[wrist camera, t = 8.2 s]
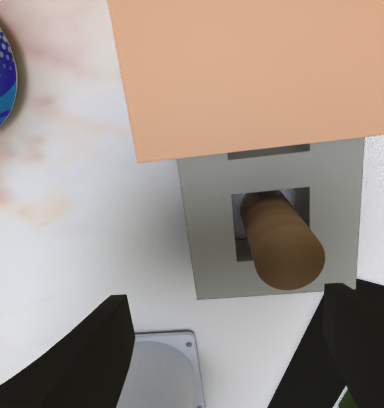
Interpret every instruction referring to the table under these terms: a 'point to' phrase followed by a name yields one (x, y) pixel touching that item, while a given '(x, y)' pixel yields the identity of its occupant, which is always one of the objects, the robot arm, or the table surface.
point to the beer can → (7, 78)
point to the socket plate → (267, 181)
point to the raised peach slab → (248, 73)
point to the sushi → (319, 364)
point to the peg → (280, 241)
